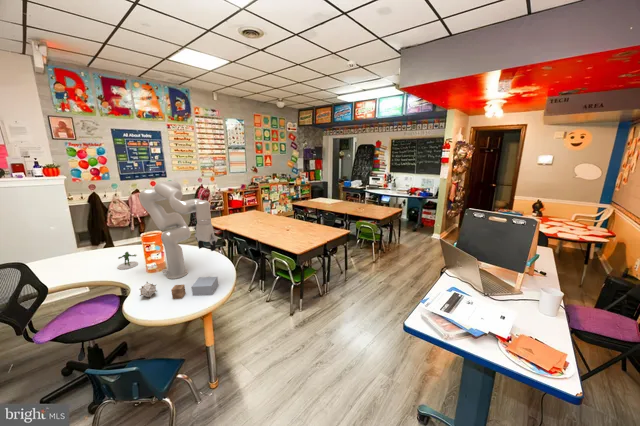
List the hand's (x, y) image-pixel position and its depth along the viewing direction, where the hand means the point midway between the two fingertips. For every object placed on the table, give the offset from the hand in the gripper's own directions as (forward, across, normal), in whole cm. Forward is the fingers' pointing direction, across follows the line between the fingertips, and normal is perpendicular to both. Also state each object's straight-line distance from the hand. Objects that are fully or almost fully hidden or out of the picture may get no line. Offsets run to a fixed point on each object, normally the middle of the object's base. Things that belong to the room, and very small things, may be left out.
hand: (207, 249), depth 150 cm
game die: (+24, -22, -24) cm, 40 cm away
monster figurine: (+24, -75, -4) cm, 79 cm away
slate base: (+24, +2, -6) cm, 25 cm away
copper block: (+24, -6, -17) cm, 30 cm away
